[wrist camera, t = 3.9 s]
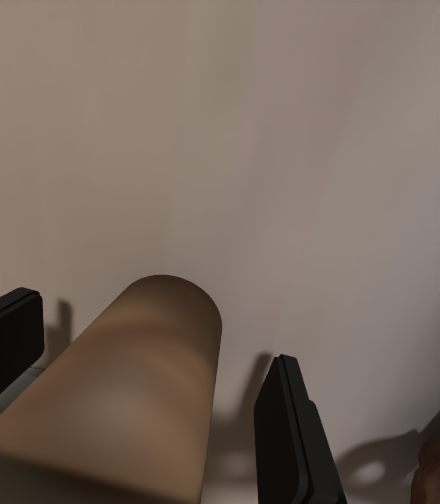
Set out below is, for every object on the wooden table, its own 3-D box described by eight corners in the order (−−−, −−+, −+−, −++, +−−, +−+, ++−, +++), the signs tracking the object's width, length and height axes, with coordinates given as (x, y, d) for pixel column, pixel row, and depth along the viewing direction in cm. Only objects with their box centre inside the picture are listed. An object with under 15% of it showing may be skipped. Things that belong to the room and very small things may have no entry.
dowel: (234, 291, 10) (223, 460, 4) (208, 376, 11) (176, 578, 6) (120, 262, 10) (-51, 388, 4) (112, 351, 11) (-16, 528, 6)
